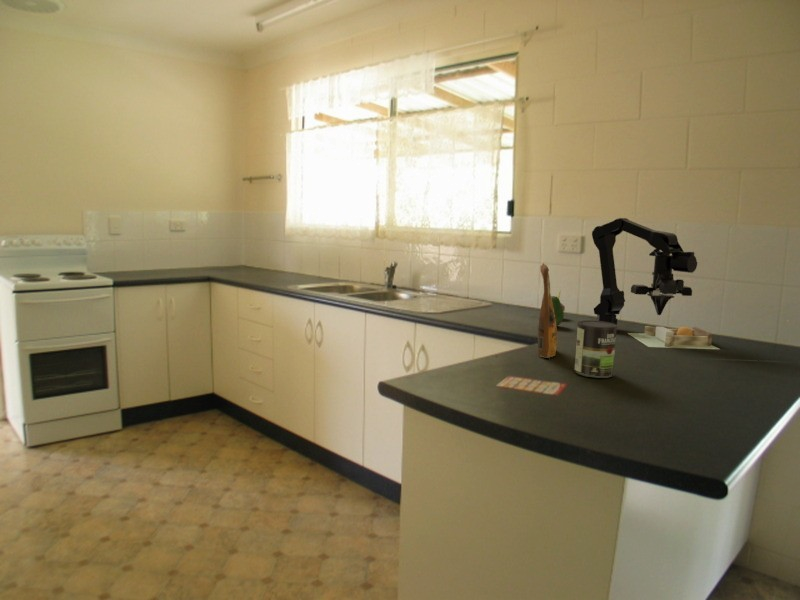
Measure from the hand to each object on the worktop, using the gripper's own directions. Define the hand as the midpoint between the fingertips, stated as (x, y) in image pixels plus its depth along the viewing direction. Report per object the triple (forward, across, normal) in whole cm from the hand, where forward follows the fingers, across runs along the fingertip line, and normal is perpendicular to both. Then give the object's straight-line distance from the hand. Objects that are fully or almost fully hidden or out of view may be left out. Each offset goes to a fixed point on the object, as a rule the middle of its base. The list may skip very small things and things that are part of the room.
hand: (658, 314), depth 200 cm
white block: (+10, +2, 0) cm, 10 cm away
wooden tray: (+9, +7, 0) cm, 12 cm away
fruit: (+10, -32, +21) cm, 39 cm away
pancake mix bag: (+10, -43, -23) cm, 49 cm away
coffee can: (+10, -34, -45) cm, 57 cm away
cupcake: (+10, -28, +39) cm, 49 cm away
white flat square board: (+10, +5, 0) cm, 11 cm away
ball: (+6, +9, 0) cm, 11 cm away
